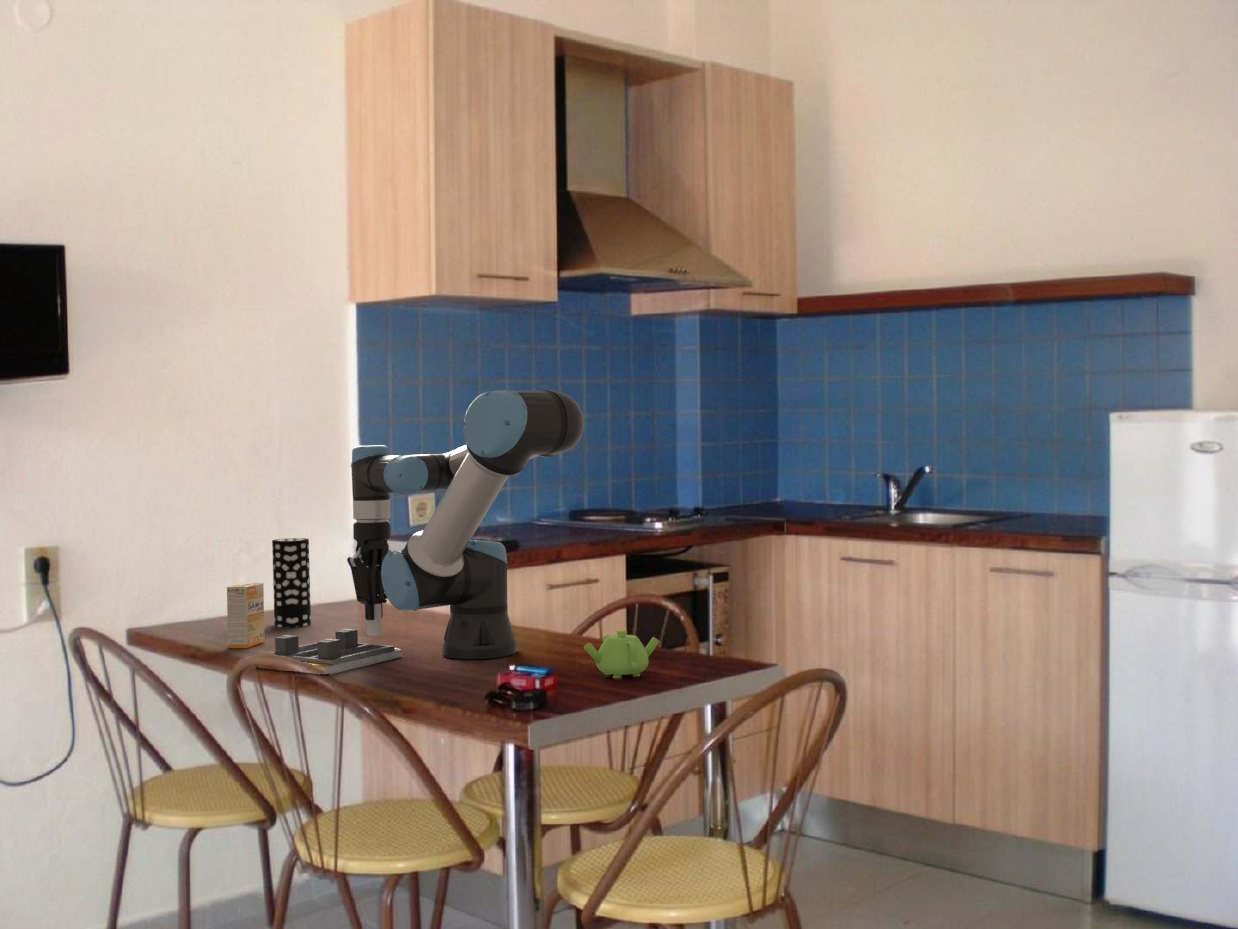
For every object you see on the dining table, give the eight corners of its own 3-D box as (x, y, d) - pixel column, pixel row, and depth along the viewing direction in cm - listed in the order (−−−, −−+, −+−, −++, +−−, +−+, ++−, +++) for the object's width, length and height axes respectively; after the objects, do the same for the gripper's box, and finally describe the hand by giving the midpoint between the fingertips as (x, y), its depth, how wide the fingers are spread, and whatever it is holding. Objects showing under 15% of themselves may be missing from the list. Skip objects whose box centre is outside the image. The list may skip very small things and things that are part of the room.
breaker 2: (341, 660, 265) (340, 638, 265) (328, 663, 262) (327, 641, 262) (330, 659, 266) (330, 637, 266) (317, 662, 263) (317, 640, 263)
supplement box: (248, 649, 290) (246, 586, 290) (227, 648, 291) (225, 586, 291) (266, 642, 298) (264, 582, 298) (245, 642, 299) (243, 581, 299)
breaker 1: (298, 656, 270) (298, 634, 270) (285, 659, 267) (284, 637, 267) (289, 655, 272) (288, 634, 272) (275, 658, 269) (275, 636, 268)
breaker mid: (358, 649, 277) (357, 628, 277) (345, 652, 274) (345, 631, 274) (348, 648, 278) (347, 627, 278) (335, 651, 275) (335, 630, 275)
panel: (401, 657, 277) (401, 644, 277) (325, 675, 258) (324, 662, 258) (334, 650, 286) (333, 638, 286) (255, 668, 267) (255, 655, 267)
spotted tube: (318, 623, 324) (316, 538, 324) (292, 628, 317) (290, 541, 317) (293, 621, 329) (290, 537, 328) (266, 626, 322) (264, 540, 321)
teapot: (640, 684, 245) (639, 636, 244) (580, 680, 249) (579, 633, 249) (661, 672, 255) (661, 627, 255) (604, 669, 259) (603, 624, 259)
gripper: (378, 517, 290) (381, 629, 291) (335, 522, 279) (338, 638, 280) (406, 518, 286) (409, 632, 287) (364, 523, 275) (367, 641, 276)
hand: (374, 635), depth 283 cm, fingers closed
